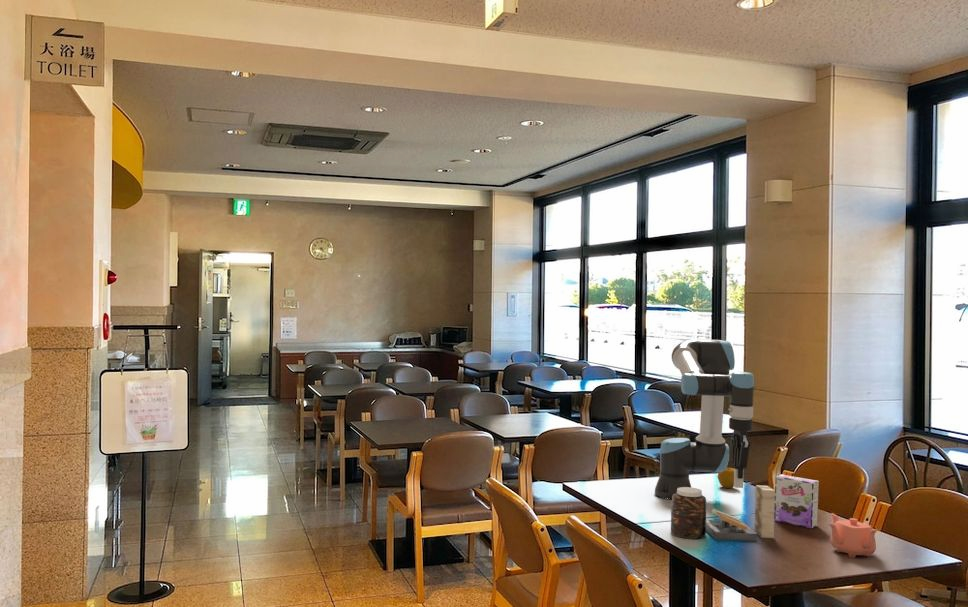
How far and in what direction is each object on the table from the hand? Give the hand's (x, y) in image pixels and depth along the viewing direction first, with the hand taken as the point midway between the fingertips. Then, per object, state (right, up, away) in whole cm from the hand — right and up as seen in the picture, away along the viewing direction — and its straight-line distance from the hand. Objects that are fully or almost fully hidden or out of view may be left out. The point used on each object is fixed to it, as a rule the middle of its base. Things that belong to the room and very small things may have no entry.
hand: (738, 487), depth 261 cm
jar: (-17, -16, -1) cm, 24 cm away
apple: (+19, -18, +72) cm, 76 cm away
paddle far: (-3, -11, +5) cm, 13 cm away
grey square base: (-3, -16, +1) cm, 17 cm away
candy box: (+26, -18, +18) cm, 36 cm away
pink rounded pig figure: (+30, -17, -16) cm, 38 cm away
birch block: (+9, -17, +1) cm, 19 cm away
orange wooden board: (-3, -11, -2) cm, 12 cm away
